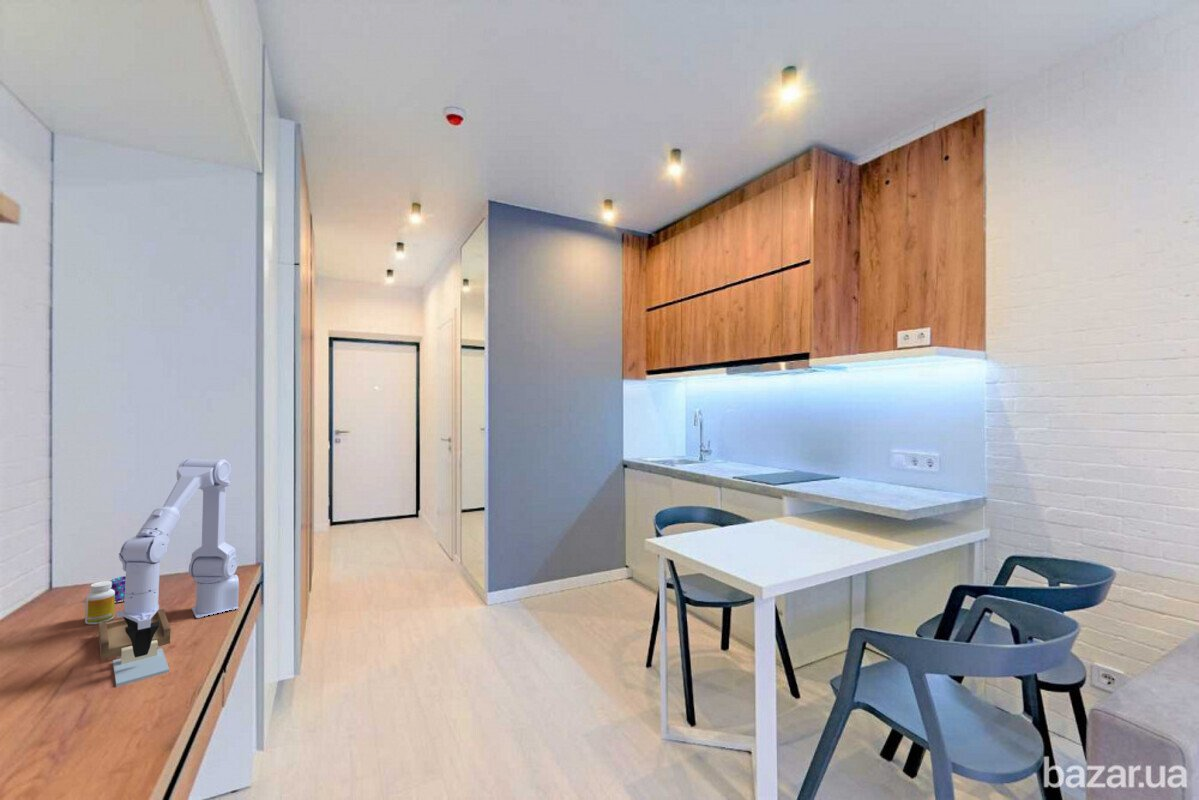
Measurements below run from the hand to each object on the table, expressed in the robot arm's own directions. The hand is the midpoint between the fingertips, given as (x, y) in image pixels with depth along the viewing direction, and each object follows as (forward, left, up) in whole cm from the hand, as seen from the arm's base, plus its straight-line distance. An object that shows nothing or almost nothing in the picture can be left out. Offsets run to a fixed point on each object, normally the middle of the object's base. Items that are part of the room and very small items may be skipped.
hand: (139, 648), depth 114 cm
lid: (0, +3, -4) cm, 5 cm away
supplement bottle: (+6, -31, -3) cm, 32 cm away
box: (0, -13, -3) cm, 13 cm away
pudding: (0, -47, -4) cm, 47 cm away
